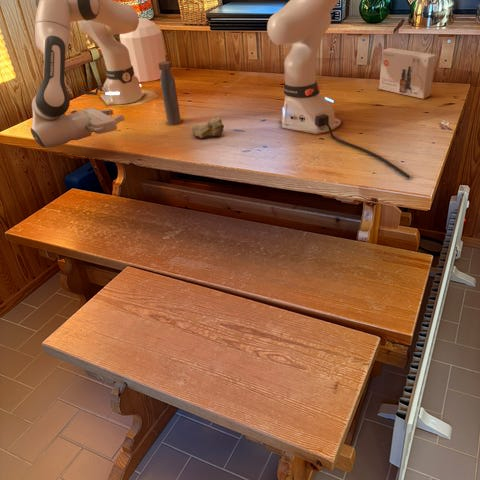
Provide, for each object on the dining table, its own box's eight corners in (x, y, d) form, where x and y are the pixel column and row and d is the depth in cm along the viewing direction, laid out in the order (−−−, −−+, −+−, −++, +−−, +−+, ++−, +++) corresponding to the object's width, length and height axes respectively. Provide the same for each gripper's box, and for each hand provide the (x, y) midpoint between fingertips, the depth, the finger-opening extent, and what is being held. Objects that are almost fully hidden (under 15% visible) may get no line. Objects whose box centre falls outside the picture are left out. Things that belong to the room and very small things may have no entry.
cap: (164, 66, 174) (163, 61, 173) (173, 67, 172) (172, 61, 171) (157, 69, 171) (156, 64, 170) (166, 70, 169) (165, 64, 168)
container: (160, 81, 233) (149, 21, 217) (121, 82, 238) (108, 23, 222) (174, 69, 249) (165, 13, 233) (138, 70, 254) (126, 15, 238)
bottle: (172, 119, 186) (163, 61, 174) (184, 120, 184) (174, 62, 171) (164, 123, 182) (154, 65, 170) (175, 125, 180) (165, 66, 167)
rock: (192, 135, 173) (196, 140, 164) (189, 118, 170) (194, 122, 161) (220, 130, 175) (226, 135, 166) (218, 113, 172) (223, 117, 163)
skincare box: (377, 89, 194) (381, 50, 185) (385, 86, 197) (389, 47, 188) (423, 99, 180) (429, 56, 171) (430, 95, 183) (437, 53, 174)
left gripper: (90, 123, 152) (128, 112, 158) (68, 110, 166) (104, 100, 172) (95, 141, 155) (132, 129, 162) (73, 126, 170) (108, 116, 176)
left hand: (117, 114), depth 167 cm, fingers open, 8 cm apart
